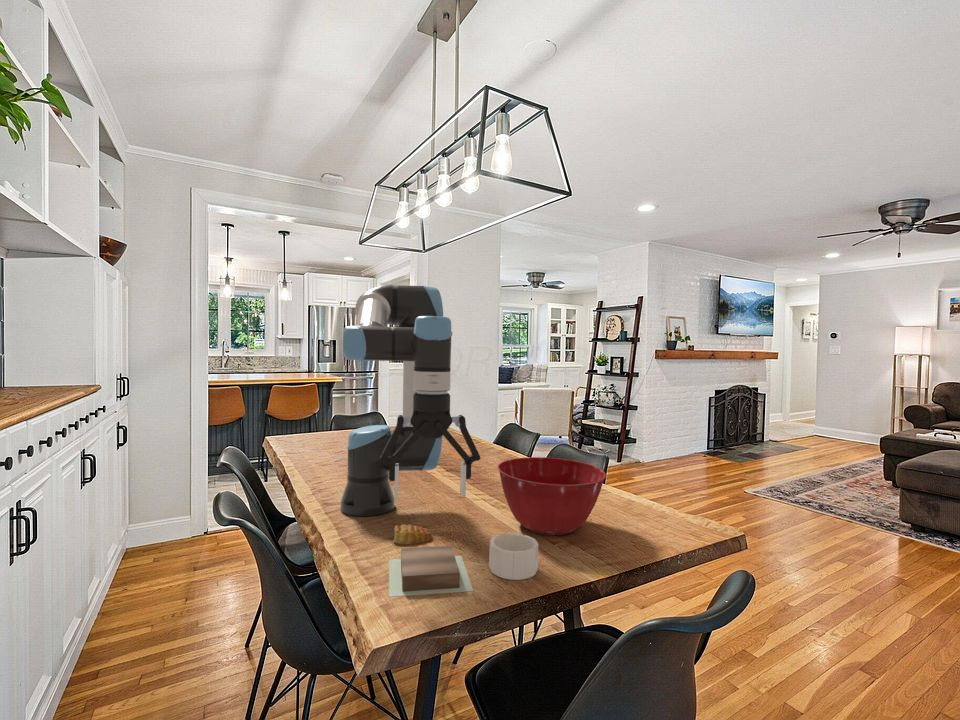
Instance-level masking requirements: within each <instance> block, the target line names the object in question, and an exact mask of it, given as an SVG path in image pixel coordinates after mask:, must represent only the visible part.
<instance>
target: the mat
mask: <svg viewBox="0 0 960 720" xmlns="http://www.w3.org/2000/svg"><path fill="white" fill-rule="evenodd" d="M454 556H455V559H456V562H457V566H458V569H459V572H460V583H459V588H450V589H436V590H421V591H406V592H402V575H401V558H397V559H395V558H394V559H388V573H389V574H388V590H389V591H388V597H389V598H392V597H393V598H394V597H407V596H409V597H410V596H419V595H420V596H422V595H434V594H435V595H436V594H437V595H438V594H448V593H451V594H452V593H453V594H454V593H462V592H463V593H465V592H474V589H473V586H472V583H471V580H470V577H469V573H468V571H467V568H466V565H465V562H464V560H463V556H462V555H454Z"/></svg>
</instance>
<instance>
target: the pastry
mask: <svg viewBox="0 0 960 720" xmlns="http://www.w3.org/2000/svg"><path fill="white" fill-rule="evenodd" d="M393 536H394V539H393V540H392V542H393V543H394V544H397V545H413V544H420V543H427V542H429V541H432V538H433V533H432V531H431V529H428V528H426V527H425V528H424V527H422V526H419V525H413V524H412V523H411V524H410V523H409V524H401V525H398V524H397V525H395V526H394V530H393Z"/></svg>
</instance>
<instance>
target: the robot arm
mask: <svg viewBox="0 0 960 720" xmlns="http://www.w3.org/2000/svg"><path fill="white" fill-rule="evenodd" d="M354 309H355V310H354V313H355V316H356V322H355V325H348V326H345V327H344V328H343V332H342V354H343V358H345V360H349V361H359V362H368V361H369V362H370V361H371V362H391V361H392V362H402V363H403V367H402V372H403V373H402V380H403V381H402V414H399V415H398V416H397V417H396V418H397V419H396V426H395V428H394V430H391V428H390V426H389V425H387V424H376V425H375V424H373V425H366V426H362V427H359V428H356V429H354V430H352V431H350V432H349V435H348V439H347V440H348V441H347V446H346V449H347V480H346V481H347V482H346V485H345V488H344V491H343V493H342V497H341V500H340V511H341V512H342V513H344V514H346V515H349V516H353V517H354V516H356V517H371V516H372V517H373V516H379V515H384V514H386V513H389V512H391V511H392V510H394V509H395V500H398V499H399V490H400V488H399V483H400V482H399V481H400V480H399V478H400V477H399V476H400V472H406V471H407V472H409V471H410V472H411V471H412V472H413V471H419V472H423V471H431V470H435V469H436V468H437V467H438V466H439V465H438V464H439V463H440V458H441V454H442V446H443V437H444V438H445V440H447V441H448V443H449V444H450V445H451V446H452V447H453V448H454V450H455V451H456V452H457V453H458V455H459V456H460V457H461V459H463V461H460V481H459V483H460V485H459V487H460V488H459V492H460V496H461V497H466V496H467V493H466V492H467V491H466V489H467V486H466V485H467V480H470V479H471V478H472V465H473V463H474V462H476V461H478V462H479V461H480V460H481V456H480V454H479V451H478V449H477V447H476V445H475V443H474V440H473V439H472V437H471V434H470V433H469V430H468V429H467V423H466V417H465V416H464V415H463V414H459V415H458V416H457V415H456V416H451V394H450V393H449V391H450V390H451V372H452V371H451V362H452V359H451V357H452V336H453V332H452V320H451V318H449V317H448V316H444V306H443V300H442V296H441V293H440V291H439V289H438V288H436V287H434V286H426V285H405V284H404V285H403V284H401V285H399V284H382V285H379V286H376V287H372V288H370V289H369V290H367V291H365V292H363V293H362V294H361V295H360V296H359V297H358V299H357V301H356V303H355V308H354ZM388 325H393V326H388ZM396 325H397V326H396ZM452 423H454V425H455V427H458V428H459V431H460V433H461V435H462V437H463V439H464V441H465V444H466V445H467V446H468V447H467V448H468V449H469V451H470V453H471V454H470V455H469V454H468V453H467V452H466V451H465V450H464V448H462V446H461V445H460V444H459V443H458V441H457V440H456V438H454V436H453V435H452V434H451V433H450V432H449V431H448V429H449V428H450V427H451V425H452ZM390 482H394V491H393V490H392V487H391V484H390ZM393 492H394V493H393Z"/></svg>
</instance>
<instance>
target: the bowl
mask: <svg viewBox="0 0 960 720" xmlns="http://www.w3.org/2000/svg"><path fill="white" fill-rule="evenodd" d="M488 554H489V557H488V559H489V561H488V568H489V570H490V572H491V574H493V575H495V576H497V577H498V578H501V579H504V580H511V581H523V580H526V579H532V578H534V577H535V576H536V574H537V572H538V569H539V543H538V541H537V540H536V538H534V537H532V536H529V535H526V534H520V533H515V532H514V533H512V532H511V533H500V534H498V535H495V536H492V538H491V539H490V540H489V553H488ZM534 575H535V576H534ZM533 576H534V577H533ZM531 577H532V578H531Z"/></svg>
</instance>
